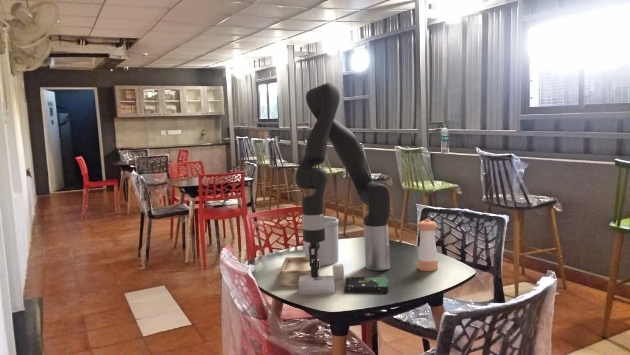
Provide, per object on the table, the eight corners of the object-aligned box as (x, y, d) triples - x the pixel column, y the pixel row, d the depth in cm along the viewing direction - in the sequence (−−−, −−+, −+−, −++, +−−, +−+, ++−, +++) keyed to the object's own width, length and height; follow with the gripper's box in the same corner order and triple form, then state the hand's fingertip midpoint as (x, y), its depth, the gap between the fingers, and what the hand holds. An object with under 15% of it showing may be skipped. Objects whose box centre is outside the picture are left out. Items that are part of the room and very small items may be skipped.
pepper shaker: (441, 267, 183) (440, 218, 181) (431, 272, 178) (430, 221, 176) (424, 264, 188) (423, 216, 186) (414, 269, 183) (413, 219, 181)
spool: (344, 276, 178) (343, 263, 178) (344, 280, 175) (343, 267, 174) (333, 277, 179) (332, 264, 178) (333, 280, 175) (332, 267, 174)
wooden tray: (320, 270, 188) (319, 256, 187) (317, 285, 170) (317, 270, 170) (286, 271, 189) (285, 257, 188) (280, 286, 171) (279, 271, 171)
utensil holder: (332, 254, 209) (331, 214, 207) (345, 263, 195) (343, 220, 193) (300, 258, 205) (298, 218, 203) (311, 268, 191) (309, 225, 189)
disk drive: (344, 294, 162) (388, 294, 160) (344, 286, 161) (388, 286, 159) (346, 284, 172) (388, 283, 170) (346, 276, 172) (387, 276, 170)
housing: (335, 289, 166) (334, 273, 165) (334, 294, 162) (334, 277, 161) (300, 290, 167) (299, 274, 166) (299, 295, 162) (298, 278, 162)
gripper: (323, 231, 154) (325, 280, 156) (325, 222, 169) (327, 266, 170) (300, 231, 155) (302, 280, 157) (304, 222, 169) (306, 267, 171)
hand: (315, 273), depth 164 cm, fingers open, 8 cm apart
